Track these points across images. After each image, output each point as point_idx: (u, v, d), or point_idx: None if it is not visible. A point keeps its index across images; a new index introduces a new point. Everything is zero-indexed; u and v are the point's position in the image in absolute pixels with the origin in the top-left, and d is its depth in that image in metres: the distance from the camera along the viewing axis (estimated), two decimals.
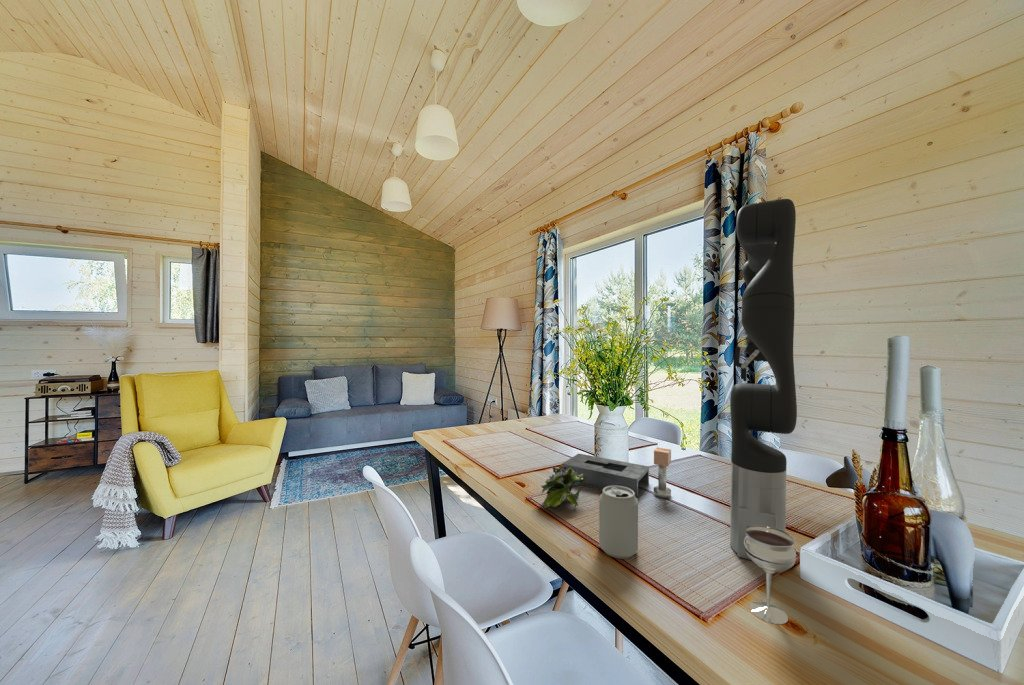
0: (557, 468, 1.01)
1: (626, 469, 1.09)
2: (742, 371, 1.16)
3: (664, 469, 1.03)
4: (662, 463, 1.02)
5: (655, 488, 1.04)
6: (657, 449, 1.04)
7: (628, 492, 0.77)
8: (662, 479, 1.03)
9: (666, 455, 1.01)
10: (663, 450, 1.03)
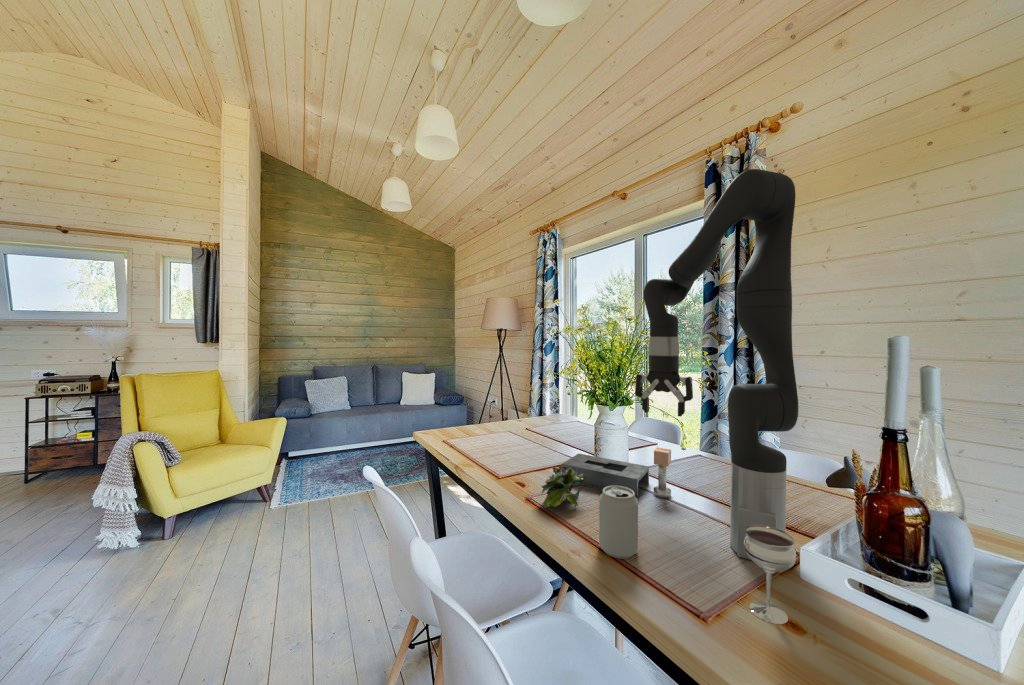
0: (557, 468, 1.01)
1: (626, 469, 1.09)
2: (643, 401, 1.06)
3: (664, 469, 1.03)
4: (662, 463, 1.02)
5: (655, 488, 1.04)
6: (657, 449, 1.04)
7: (628, 492, 0.77)
8: (662, 479, 1.03)
9: (666, 455, 1.01)
10: (663, 450, 1.03)
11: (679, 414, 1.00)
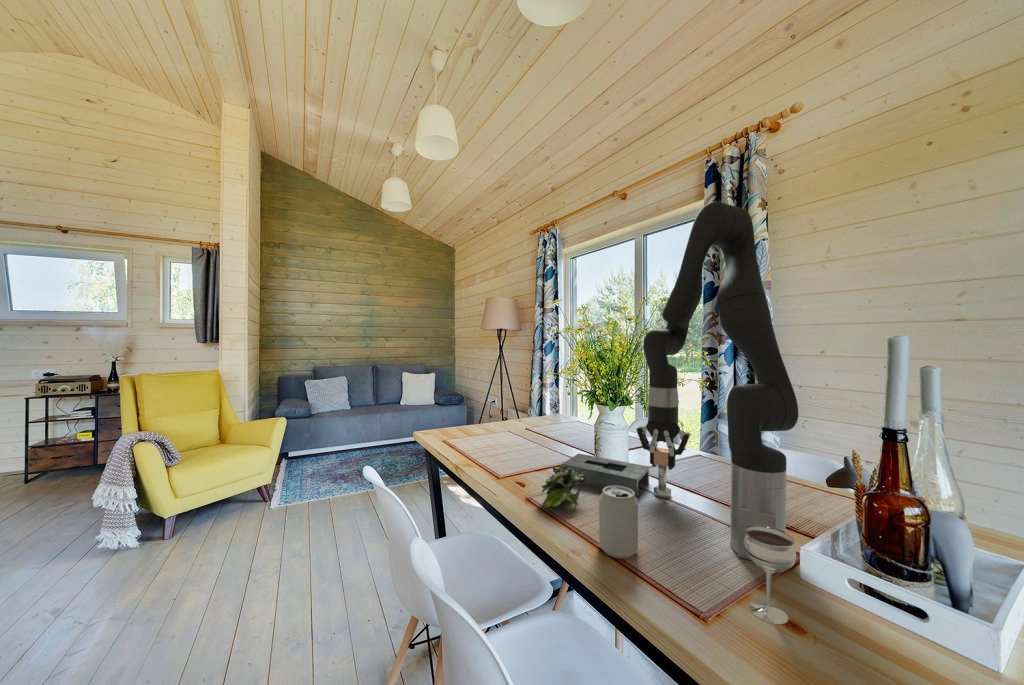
0: (557, 468, 1.01)
1: (626, 469, 1.09)
2: (651, 455, 1.05)
3: (664, 469, 1.03)
4: (662, 463, 1.02)
5: (655, 488, 1.04)
6: (657, 449, 1.04)
7: (628, 492, 0.77)
8: (662, 479, 1.03)
9: (666, 455, 1.01)
10: (663, 450, 1.03)
11: (670, 467, 1.02)
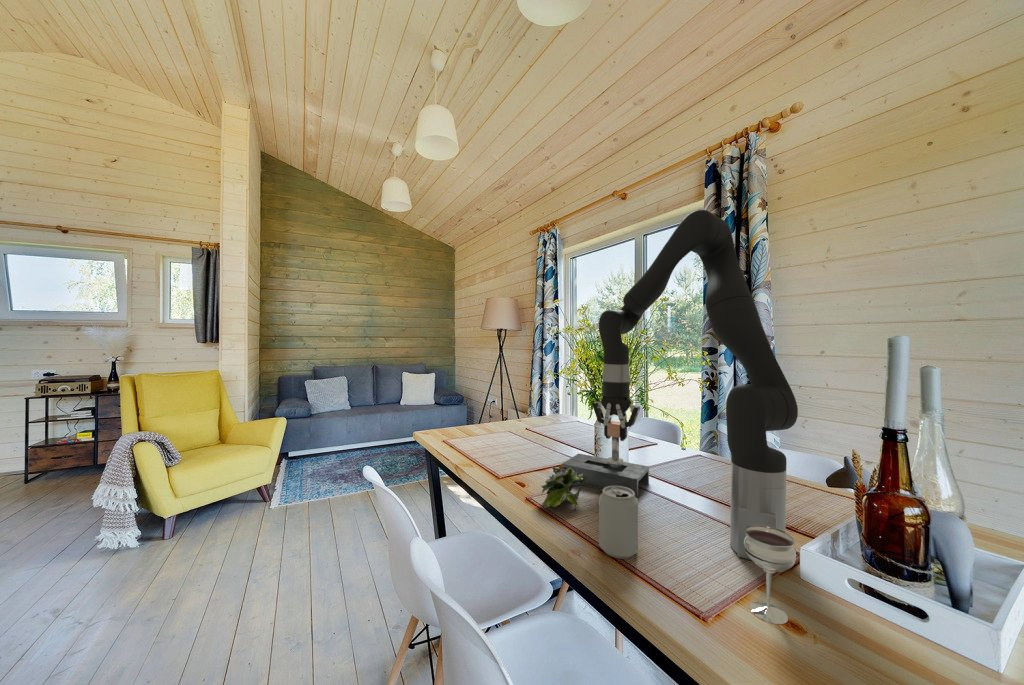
0: (557, 468, 1.01)
1: (626, 469, 1.09)
2: (605, 428, 1.12)
3: (617, 440, 1.10)
4: (614, 435, 1.09)
5: (609, 458, 1.12)
6: (611, 422, 1.11)
7: (628, 492, 0.77)
8: (615, 449, 1.10)
9: (618, 427, 1.09)
10: (615, 423, 1.10)
11: (621, 439, 1.09)
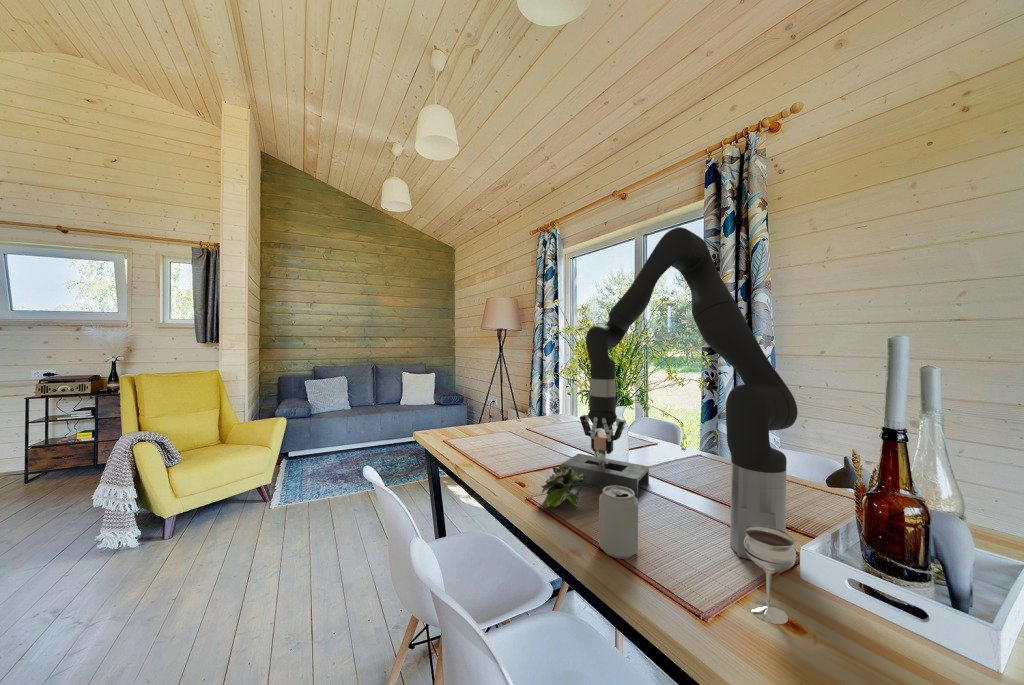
0: (557, 468, 1.01)
1: (626, 469, 1.09)
2: (592, 441, 1.14)
3: (603, 453, 1.12)
4: (601, 448, 1.12)
5: None
6: (597, 435, 1.14)
7: (628, 492, 0.77)
8: (601, 462, 1.13)
9: (604, 440, 1.11)
10: (602, 436, 1.13)
11: (607, 452, 1.11)
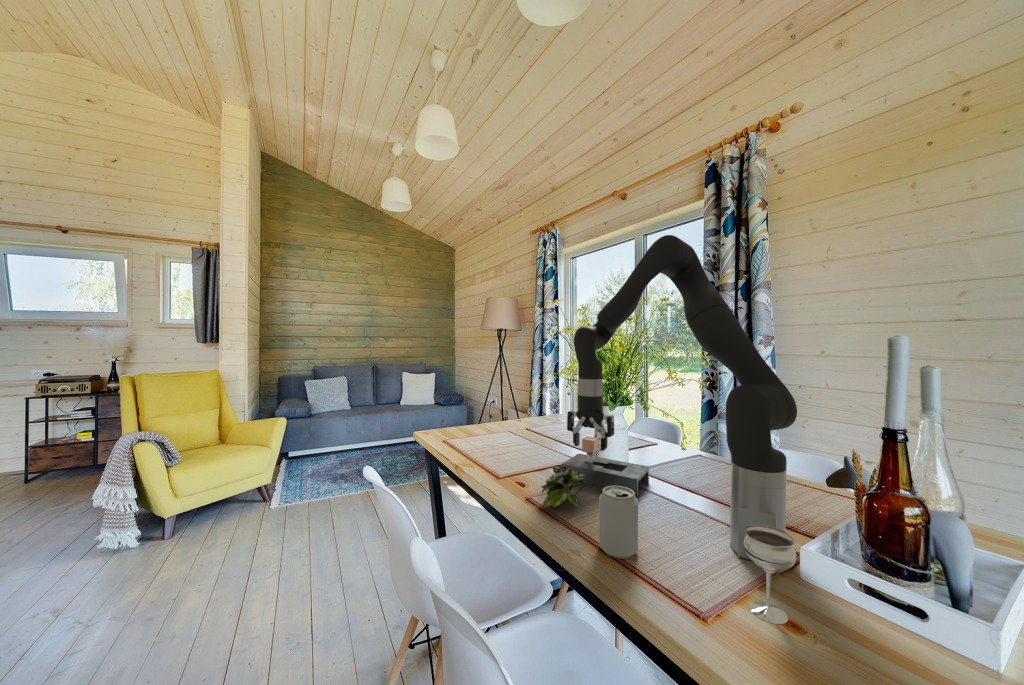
0: (557, 468, 1.01)
1: (626, 469, 1.09)
2: (574, 436, 1.17)
3: (591, 455, 1.14)
4: (589, 450, 1.13)
5: None
6: (585, 438, 1.16)
7: (628, 492, 0.77)
8: None
9: (592, 443, 1.13)
10: (590, 439, 1.14)
11: (601, 449, 1.12)
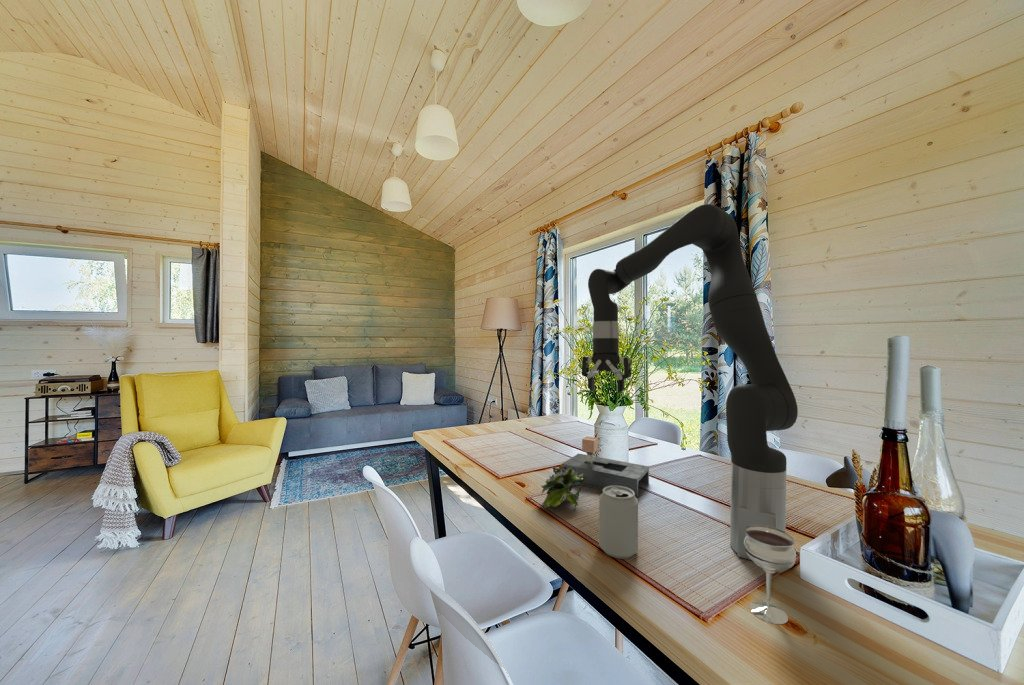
0: (557, 468, 1.01)
1: (626, 469, 1.09)
2: (589, 381, 1.16)
3: (591, 455, 1.14)
4: (589, 450, 1.14)
5: None
6: (586, 438, 1.16)
7: (628, 492, 0.77)
8: None
9: (592, 443, 1.13)
10: (590, 439, 1.14)
11: (619, 391, 1.11)
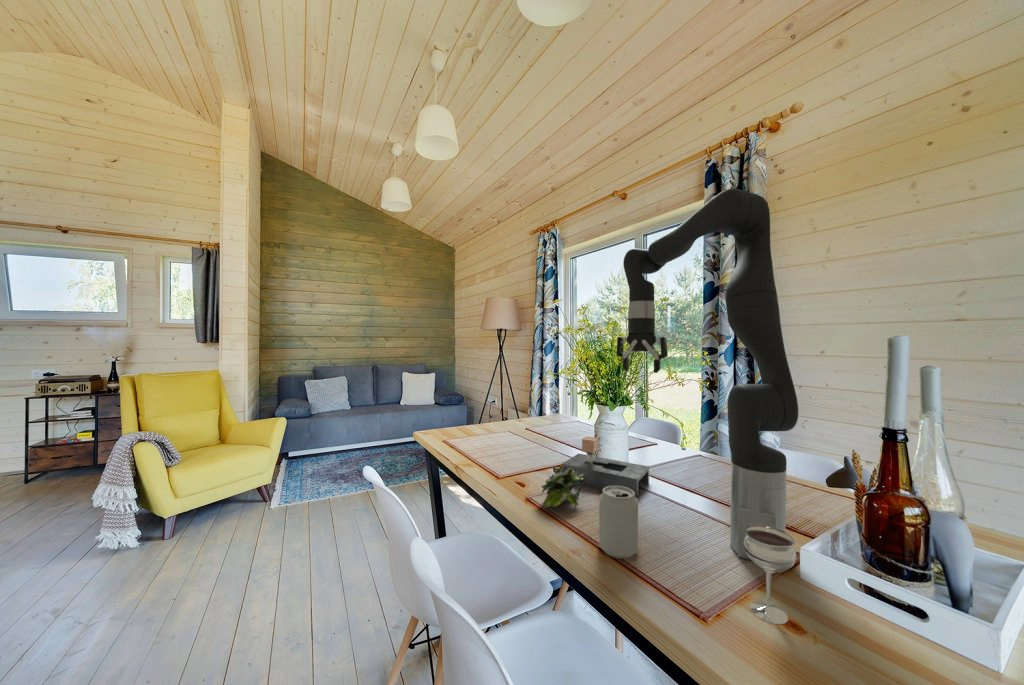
0: (557, 468, 1.01)
1: (626, 469, 1.09)
2: (623, 361, 1.16)
3: (591, 455, 1.14)
4: (589, 450, 1.13)
5: None
6: (585, 438, 1.16)
7: (628, 492, 0.77)
8: None
9: (592, 443, 1.13)
10: (590, 439, 1.14)
11: (655, 370, 1.11)
